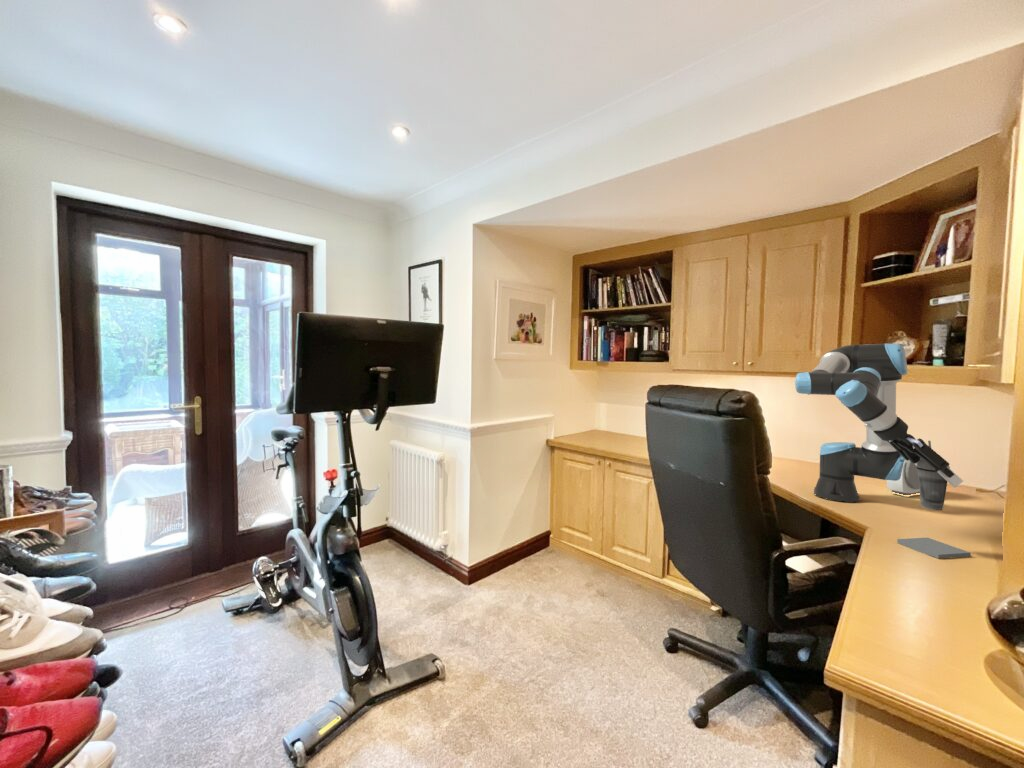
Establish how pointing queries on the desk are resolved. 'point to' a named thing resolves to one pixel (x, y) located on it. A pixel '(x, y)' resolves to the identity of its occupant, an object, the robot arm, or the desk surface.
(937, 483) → the beverage cup
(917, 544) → the charcoal rubber mat
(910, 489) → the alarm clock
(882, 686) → the desk surface
